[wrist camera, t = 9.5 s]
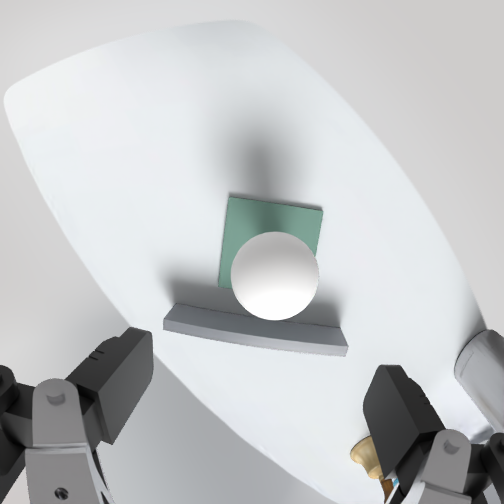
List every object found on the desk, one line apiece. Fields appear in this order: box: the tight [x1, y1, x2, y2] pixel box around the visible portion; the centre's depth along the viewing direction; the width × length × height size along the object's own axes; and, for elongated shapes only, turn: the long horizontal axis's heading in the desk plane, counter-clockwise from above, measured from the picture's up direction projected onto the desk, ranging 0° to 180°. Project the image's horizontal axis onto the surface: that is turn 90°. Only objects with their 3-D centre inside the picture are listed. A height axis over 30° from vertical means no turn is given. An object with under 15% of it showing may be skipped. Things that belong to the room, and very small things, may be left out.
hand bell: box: [350, 436, 394, 504], centre depth 26 cm, size 8×8×16 cm
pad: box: [218, 197, 323, 289], centre depth 28 cm, size 9×9×1 cm
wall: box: [163, 303, 349, 357], centre depth 28 cm, size 18×1×4 cm, turn 82°
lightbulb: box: [231, 232, 319, 320], centre depth 22 cm, size 6×6×11 cm
